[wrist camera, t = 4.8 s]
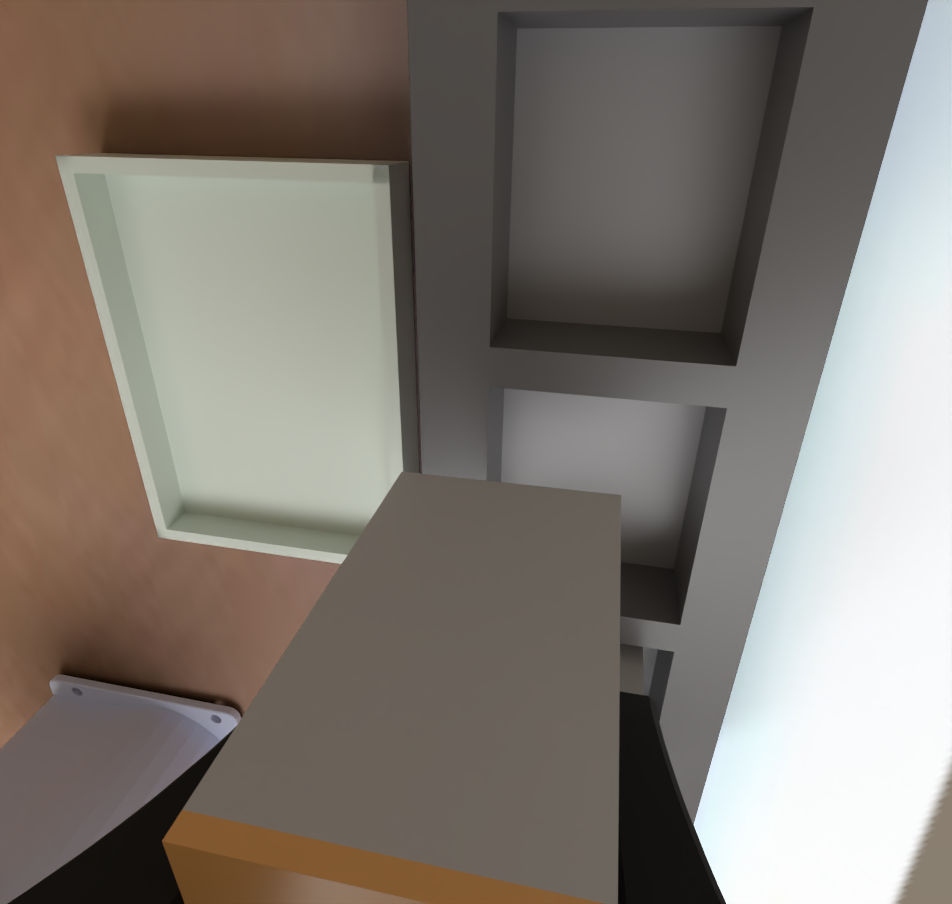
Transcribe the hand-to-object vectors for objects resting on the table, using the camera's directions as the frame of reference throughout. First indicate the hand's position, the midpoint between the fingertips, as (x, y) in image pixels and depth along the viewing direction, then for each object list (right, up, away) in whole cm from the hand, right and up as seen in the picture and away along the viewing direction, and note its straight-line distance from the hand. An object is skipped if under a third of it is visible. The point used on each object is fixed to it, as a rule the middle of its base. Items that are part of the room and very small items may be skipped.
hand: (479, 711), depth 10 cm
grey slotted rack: (+3, +4, +9) cm, 10 cm away
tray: (-6, +7, +9) cm, 13 cm away
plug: (0, +1, +2) cm, 3 cm away
